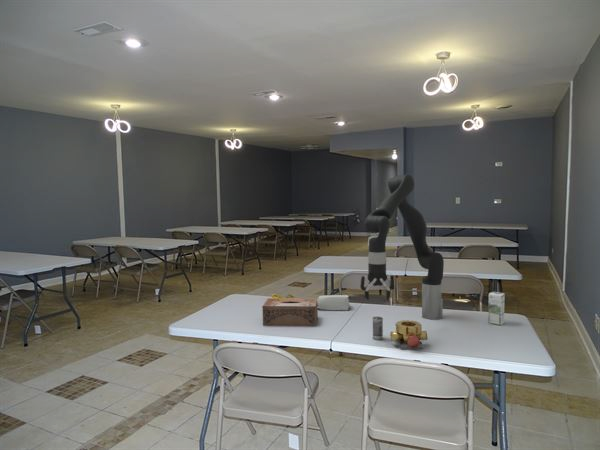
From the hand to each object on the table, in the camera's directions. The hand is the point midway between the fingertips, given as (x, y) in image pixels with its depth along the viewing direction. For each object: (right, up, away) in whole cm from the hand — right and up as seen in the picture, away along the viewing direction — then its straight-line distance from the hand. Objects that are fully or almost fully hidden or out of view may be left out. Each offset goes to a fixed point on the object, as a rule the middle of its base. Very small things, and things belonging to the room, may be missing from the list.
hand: (377, 299), depth 178 cm
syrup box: (+60, -15, +18) cm, 65 cm away
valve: (+12, -18, -9) cm, 23 cm away
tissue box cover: (-38, -17, +28) cm, 50 cm away
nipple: (0, -17, +1) cm, 17 cm away
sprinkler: (-45, -14, +58) cm, 75 cm away
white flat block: (-17, -14, +56) cm, 61 cm away
